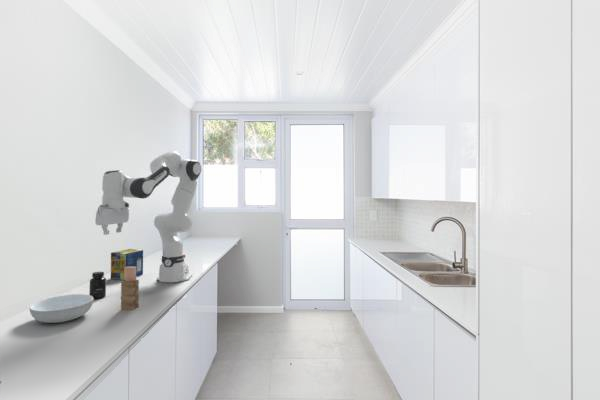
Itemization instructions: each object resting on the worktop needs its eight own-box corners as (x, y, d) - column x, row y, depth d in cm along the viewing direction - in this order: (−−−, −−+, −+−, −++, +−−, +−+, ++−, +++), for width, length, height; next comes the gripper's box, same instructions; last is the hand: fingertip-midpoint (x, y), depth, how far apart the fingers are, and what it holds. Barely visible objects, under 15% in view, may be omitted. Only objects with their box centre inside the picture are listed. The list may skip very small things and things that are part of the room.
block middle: (127, 297, 153) (127, 288, 152) (138, 297, 152) (138, 288, 152) (121, 300, 148) (121, 291, 148) (132, 301, 147) (132, 291, 147)
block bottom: (127, 306, 153) (127, 297, 153) (138, 306, 152) (138, 297, 152) (121, 309, 148) (121, 300, 148) (132, 310, 147) (132, 301, 147)
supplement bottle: (98, 300, 161) (98, 274, 161) (85, 298, 162) (86, 273, 162) (109, 295, 167) (109, 271, 167) (97, 294, 169) (97, 270, 169)
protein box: (110, 279, 200) (110, 252, 200) (129, 273, 215) (129, 248, 215) (125, 280, 198) (125, 253, 197) (143, 274, 213) (143, 249, 212)
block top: (127, 288, 152) (127, 279, 152) (138, 288, 152) (138, 279, 152) (121, 291, 147) (121, 282, 147) (132, 291, 147) (132, 282, 147)
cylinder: (128, 279, 152) (128, 266, 152) (138, 279, 152) (138, 266, 152) (122, 282, 148) (122, 268, 148) (132, 282, 147) (132, 268, 147)
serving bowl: (38, 313, 142) (38, 297, 142) (97, 307, 150) (97, 292, 150) (21, 332, 123) (21, 313, 123) (88, 324, 131) (88, 306, 131)
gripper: (105, 205, 152) (104, 236, 152) (131, 203, 172) (131, 231, 172) (91, 204, 152) (91, 235, 153) (119, 203, 173) (119, 231, 173)
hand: (112, 233), depth 163 cm, fingers open, 8 cm apart
